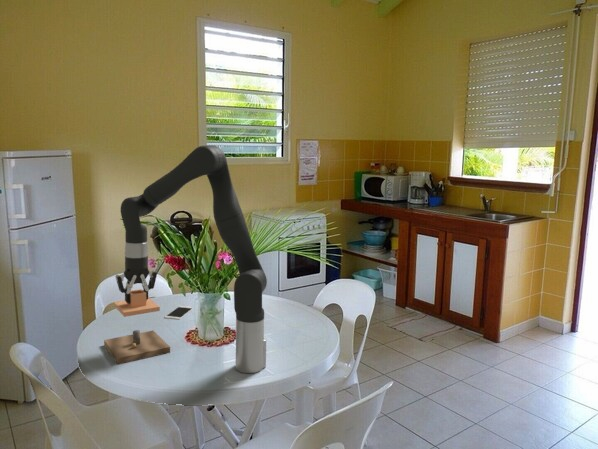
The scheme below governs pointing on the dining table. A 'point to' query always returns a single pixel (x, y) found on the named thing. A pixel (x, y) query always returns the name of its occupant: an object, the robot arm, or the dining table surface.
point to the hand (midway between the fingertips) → (136, 301)
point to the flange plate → (136, 304)
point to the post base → (136, 346)
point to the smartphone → (179, 312)
